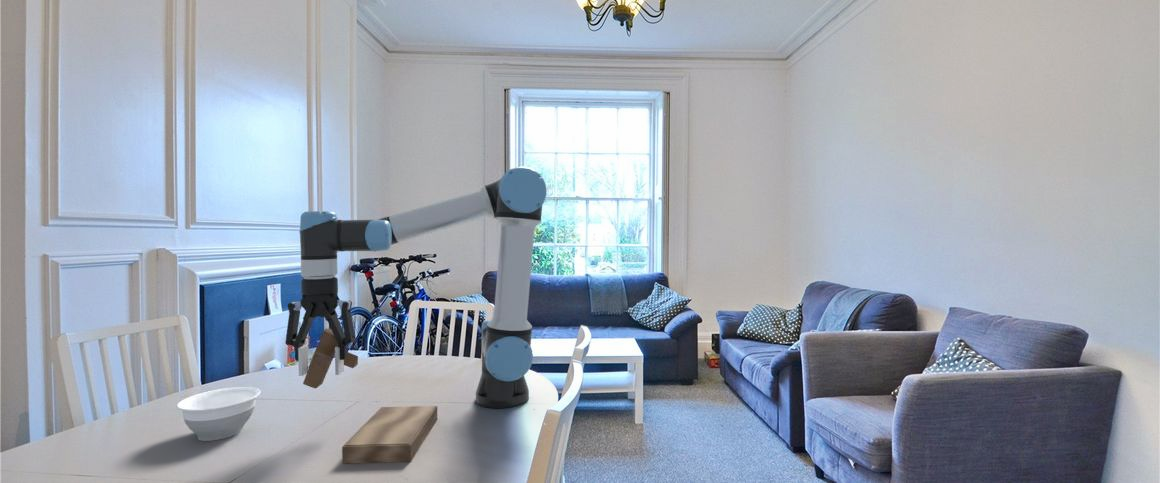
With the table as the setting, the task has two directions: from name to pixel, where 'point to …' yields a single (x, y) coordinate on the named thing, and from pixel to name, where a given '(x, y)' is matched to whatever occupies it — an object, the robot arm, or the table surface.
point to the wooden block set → (325, 359)
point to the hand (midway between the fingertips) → (321, 373)
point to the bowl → (219, 411)
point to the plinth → (390, 435)
